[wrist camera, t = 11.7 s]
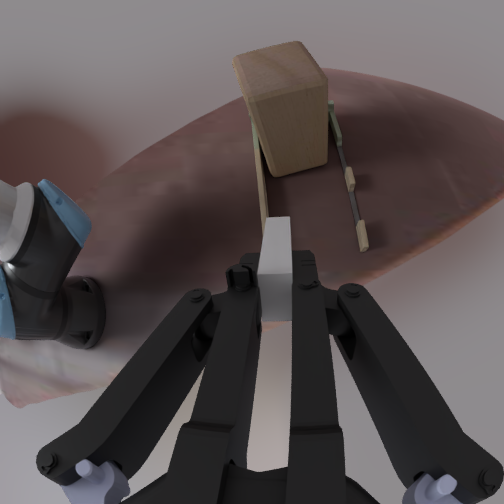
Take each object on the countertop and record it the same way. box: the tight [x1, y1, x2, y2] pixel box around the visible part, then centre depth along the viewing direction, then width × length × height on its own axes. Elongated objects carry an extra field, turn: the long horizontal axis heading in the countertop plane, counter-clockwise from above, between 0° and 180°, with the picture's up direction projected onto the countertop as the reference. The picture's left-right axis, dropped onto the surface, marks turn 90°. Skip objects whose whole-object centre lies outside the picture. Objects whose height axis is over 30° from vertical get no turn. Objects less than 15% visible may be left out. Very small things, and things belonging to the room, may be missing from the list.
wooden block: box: [232, 41, 328, 177], centre depth 36 cm, size 10×10×20 cm
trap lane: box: [249, 101, 369, 252], centre depth 42 cm, size 15×26×5 cm, turn 4°
